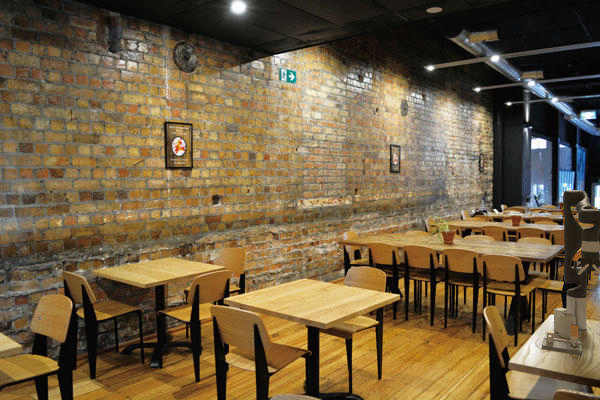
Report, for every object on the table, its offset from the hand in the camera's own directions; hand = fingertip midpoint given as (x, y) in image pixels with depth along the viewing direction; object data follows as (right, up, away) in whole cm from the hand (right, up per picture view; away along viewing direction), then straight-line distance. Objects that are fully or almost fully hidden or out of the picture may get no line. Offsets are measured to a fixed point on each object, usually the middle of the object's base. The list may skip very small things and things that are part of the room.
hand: (590, 282), depth 217 cm
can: (-5, -30, +10) cm, 32 cm away
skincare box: (-3, -30, +19) cm, 35 cm away
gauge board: (-16, -31, -3) cm, 35 cm away
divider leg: (-12, -29, -6) cm, 32 cm away
